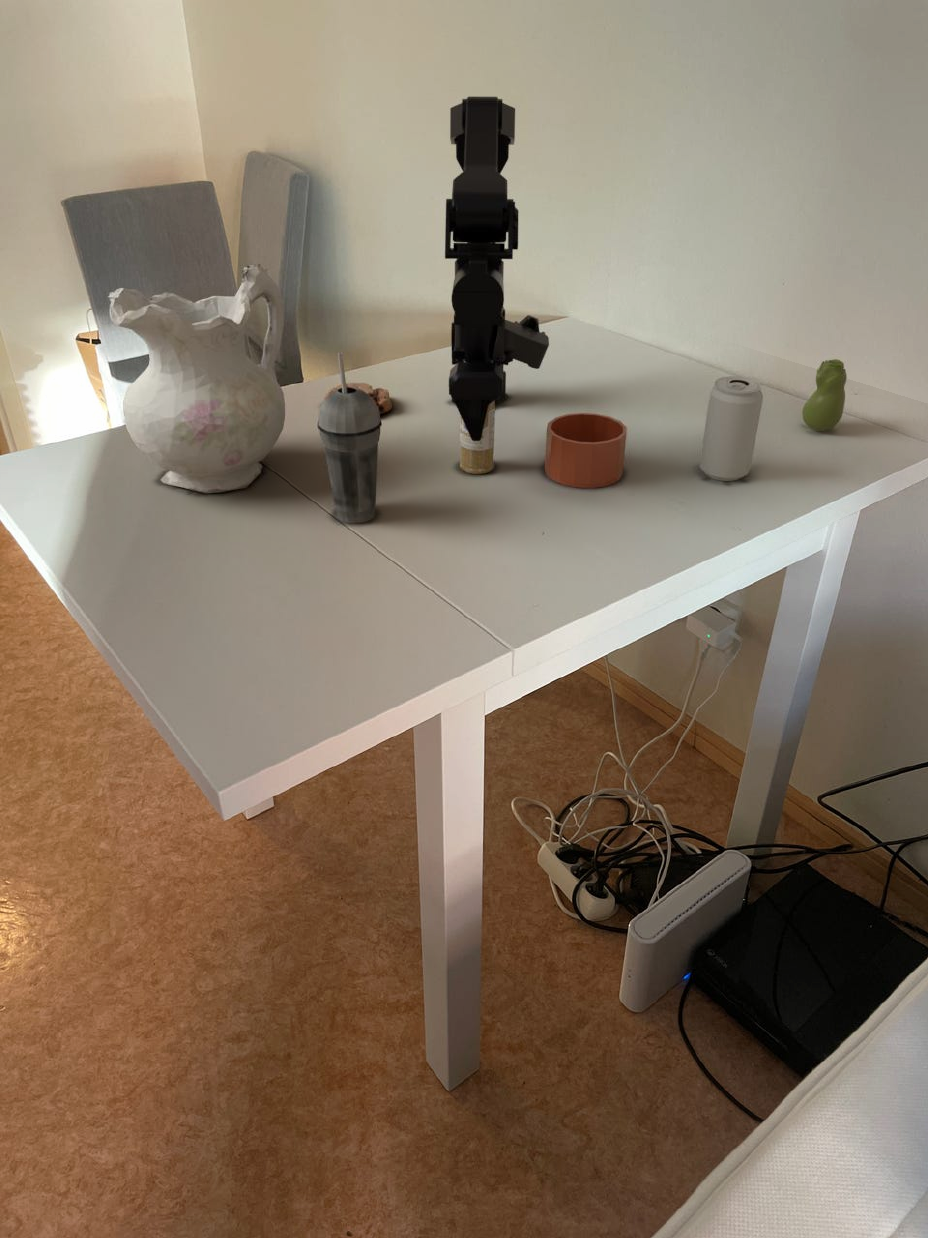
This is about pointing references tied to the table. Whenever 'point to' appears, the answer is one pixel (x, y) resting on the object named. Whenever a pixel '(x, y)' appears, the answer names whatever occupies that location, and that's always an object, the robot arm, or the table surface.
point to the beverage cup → (351, 449)
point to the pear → (826, 397)
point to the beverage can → (731, 428)
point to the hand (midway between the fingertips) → (477, 427)
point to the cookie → (371, 395)
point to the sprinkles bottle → (478, 446)
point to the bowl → (585, 450)
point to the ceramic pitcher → (204, 384)
